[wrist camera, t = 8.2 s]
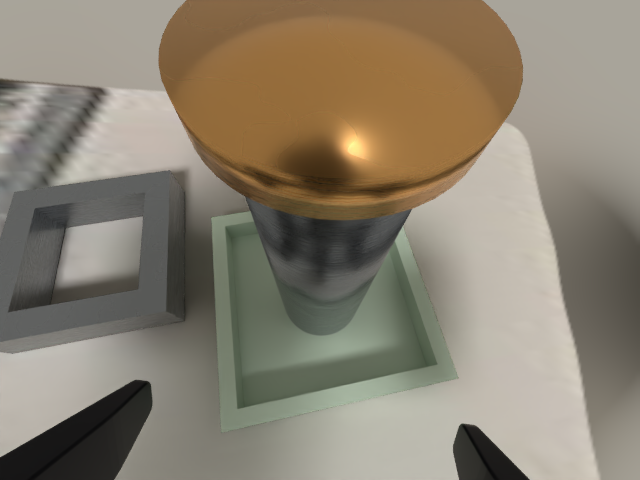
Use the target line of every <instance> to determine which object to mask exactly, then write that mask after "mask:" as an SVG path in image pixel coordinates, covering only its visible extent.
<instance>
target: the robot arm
mask: <svg viewBox="0 0 640 480" xmlns="http://www.w3.org/2000/svg"><path fill="white" fill-rule="evenodd" d="M151 409H152V392H151V384H150V382H148V381H142V380H134V381H132V382H130V383H129V384H127V385H125V386H123V387H122V388H120V389H118V390H116V391H115V392H113V393H111V394H110V395H108V396H106V397H104V398H103V399H101V400H99V401H97V402H96V403H94V404H92V405H90V406H89V407H87V408H85V409H83V410H82V411H80V412H78V413H77V414H75V415H73V416H71V417H70V418H68V419H66V420H64V421H63V422H61V423H59V424H57V425H56V426H54V427H52V428H50V429H49V430H47V431H45V432H44V433H42V434H40V435H38V436H37V437H35V438H33V439H31V440H30V441H28V442H26V443H24V444H23V445H21V446H19V447H17V448H16V449H14V450H12V451H11V452H9V453H7V454H5V455H4V456H2V457H0V480H114V479H115V477H116V476H117V474H118V472H119V471H120V469H121V467H122V465H123V464H124V462H125V460H126V458H127V456H128V454H129V452H130V450H131V448H132V446H133V444H134V443H135V441H136V439H137V437H138V435H139V433H140V431H141V429H142V427H143V425H144V423H145V421H146V419H147V417H148V415H149V413H150V411H151ZM453 453H454V458H455V463H456V467H457V472H458V477H459V480H530V479H529V478H528V477H527V476H526V475H525V474H524V473H523V472H522V471H521V470H520V469H519V468H518V467H517V466H516V465H515V464H514V463H513V462H512V461H511V460H510V459H509V458H508V457H507V456H506V455H505V454H504V453H503V452H502V451H501V450H500V449H499V448H498V447H497V446H496V445H495V444H494V443H493V442H492V441H491V440H490V439H489V438H488V437H487V436H486V435H485V434H484V433H483V432H482V431H481V430H480V429H479V428H478V427H477V426H475V425H470V424H461V425H460V426H459V428H458V431H457V435H456V438H455V441H454V445H453Z"/></svg>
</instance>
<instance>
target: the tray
mask: <svg viewBox="0 0 640 480" xmlns="http://www.w3.org/2000/svg"><path fill="white" fill-rule="evenodd" d="M211 224H212V246H213V268H214V290H215V312H216V335H217V357H218V379H219V401H220V423H221V433H223V432H227V431H232V430H236V429H240V428H245V427H249V426H253V425H258V424H262V423H266V422H271V421H275V420H279V419H284V418H288V417H292V416H297V415H301V414H305V413H310V412H314V411H319V410H323V409H327V408H332V407H336V406H340V405H345V404H349V403H353V402H358V401H362V400H366V399H371V398H375V397H379V396H384V395H388V394H392V393H397V392H401V391H405V390H410V389H414V388H419V387H423V386H427V385H432V384H436V383H440V382H445V381H449V380H453V379H458V375H457V372H456V370H455V367H454V364H453V361H452V359H451V356H450V353H449V350H448V348H447V345H446V342H445V340H444V337H443V334H442V331H441V329H440V326H439V323H438V320H437V318H436V315H435V312H434V310H433V307H432V304H431V301H430V299H429V296H428V293H427V291H426V288H425V285H424V282H423V280H422V277H421V274H420V271H419V269H418V266H417V263H416V261H415V258H414V255H413V252H412V250H411V247H410V244H409V241H408V239H407V236H406V233H405V231H404V228H403V227H402V228H401V230H400V232H399V234H398V236H397V238H396V240H395V241H394V243H393V245H392V247H391V249H390V251H389V252H388V254H387V256H386V258H385V260H384V262H383V264H382V265H381V267H380V269H379V271H378V273H377V275H376V276H375V278H374V280H373V282H372V284H371V286H370V288H369V289H368V291H367V293H366V295H365V297H364V299H363V300H362V302H361V304H360V306H359V308H358V310H357V311H356V313H355V315H354V317H353V319H352V320H351V321H350V323H349V324H348V325H347V326H346V327H345V328H343V329H342V330H340V331H338V332H336V333H334V334H330V335H324V336H318V335H312V334H309V333H306V332H304V331H302V330H301V329H299V328H298V327H297V326H295V325H294V324H293V322H292V321H291V320H290V318H289V317H288V315H287V313H286V310H285V307H284V304H283V302H282V299H281V296H280V293H279V290H278V287H277V285H276V282H275V279H274V276H273V273H272V271H271V268H270V265H269V262H268V259H267V257H266V254H265V251H264V248H263V245H262V242H261V240H260V237H259V234H258V231H257V228H256V226H255V223H254V220H253V217H252V214H251V211H248V212H242V213H235V214H229V215H222V216H216V217H211Z"/></svg>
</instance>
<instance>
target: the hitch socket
mask: <svg viewBox="0 0 640 480" xmlns="http://www.w3.org/2000/svg"><path fill="white" fill-rule="evenodd" d="M139 216H143V229H142V243H141V257H140V271H139V285H138V289H137V290H131V291H126V292H120V293H115V294H109V295H103V296H98V297H92V298H86V299H81V300H75V301H69V302H64V303H58V304H52V305H50V301H51V296H52V291H53V286H54V281H55V276H56V271H57V266H58V261H59V256H60V251H61V246H62V241H63V236H64V231H65V228H67V227H74V226H80V225H87V224H93V223H100V222H106V221H113V220H119V219H126V218H133V217H139ZM184 237H185V193H184V191H183V189H182V188H181V186H180V185H179V183H178V182H177V180H176V179H175V177H174V176H173V174H172V173H171V171H170V170H169V171H162V172H155V173H148V174H141V175H133V176H126V177H119V178H112V179H105V180H98V181H90V182H83V183H76V184H69V185H62V186H54V187H47V188H40V189H33V190H26V191H19V192H14V195H13V199H12V202H11V205H10V209H9V212H8V215H7V218H6V222H5V225H4V228H3V232H2V235H1V238H0V352H4V353H12V354H13V353H18V352H23V351H29V350H34V349H39V348H45V347H50V346H55V345H60V344H66V343H71V342H76V341H81V340H87V339H92V338H97V337H102V336H108V335H113V334H118V333H123V332H129V331H134V330H139V329H145V328H150V327H155V326H160V325H166V324H171V323H176V322H181V321H184Z"/></svg>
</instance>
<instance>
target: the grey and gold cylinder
mask: <svg viewBox="0 0 640 480" xmlns="http://www.w3.org/2000/svg"><path fill="white" fill-rule="evenodd" d="M159 69H160V74H161V79H162V82H163V84H164V86H165V89H166V91H167V94H168V96H169V98H170V100H171V102H172V104H173V106H174V108H175V110H176V112H177V114H178V116H179V118H180V120H181V122H182V124H183V126H184V128H185V130H186V132H187V134H188V136H189V138H190V140H191V142H192V144H193V146H194V148H195V150H196V151H197V153H198V154H199V156H200V157H201V159H202V160H203V162H204V163H205V164H206V165H207V166H208V167H209V169H210V170H211V171H212V172H213V173H214V174H215V175H216V176H217V177H218V178H220V179H221V180H222V181H223V182H225V183H226V184H227V185H229V186H230V187H231V188H232V189H234V190H236V191H237V192H239V193H241V194H243V195H244V196H245V197H246V200H247V203H248V206H249V209H250V211H251V214H252V217H253V220H254V223H255V226H256V228H257V231H258V234H259V237H260V240H261V242H262V245H263V248H264V251H265V254H266V257H267V259H268V262H269V265H270V268H271V271H272V273H273V276H274V279H275V282H276V285H277V287H278V290H279V293H280V296H281V299H282V302H283V304H284V307H285V310H286V313H287V315H288V317H289V318H290V320H291V321H292V322H293V324H294V325H295V326H297V327H298V328H299V329H301V330H302V331H304V332H306V333H309V334H312V335H318V336H324V335H330V334H334V333H336V332H338V331H340V330H342V329H343V328H345V327H346V326H347V325H348V324H349V323H350V321H351V320H352V319H353V317H354V315H355V313H356V311H357V310H358V308H359V306H360V304H361V302H362V300H363V299H364V297H365V295H366V293H367V291H368V289H369V288H370V286H371V284H372V282H373V280H374V278H375V276H376V275H377V273H378V271H379V269H380V267H381V265H382V264H383V262H384V260H385V258H386V256H387V254H388V252H389V251H390V249H391V247H392V245H393V243H394V241H395V240H396V238H397V236H398V234H399V232H400V230H401V228H402V227H403V225H404V223H405V221H406V219H407V217H408V216H409V214H410V212H411V210H412V208H415V207H418V206H420V205H422V204H424V203H426V202H428V201H431V200H433V199H435V198H436V197H438V196H439V195H441V194H442V193H444V192H445V191H447V190H449V189H450V188H451V187H453V186H454V185H455V184H456V183H457V182H458V181H459V180H460V179H461V178H463V177H464V176H465V175H466V173H467V172H468V171H469V170H470V168H471V167H472V166H473V165H474V163H475V162H476V161H477V159H478V158H479V156H480V155H481V154H482V152H483V151H484V149H485V148H486V146H487V145H488V144H489V142H490V141H491V139H492V138H493V137H494V135H495V134H496V132H497V131H498V130H499V128H500V127H501V125H502V124H503V122H504V121H505V120H506V118H507V117H508V115H509V114H510V113H511V111H512V109H513V107H514V104H515V103H516V101H517V99H518V97H519V93H520V89H521V85H522V81H523V78H522V77H523V65H522V59H521V55H520V51H519V48H518V46H517V43H516V41H515V38H514V36H513V35H512V33H511V32H510V30H509V29H508V27H507V25H506V24H505V23H504V22H503V20H502V19H501V18H500V17H499V16H498V15H497V13H496V12H495V11H493V10H492V9H491V8H490V7H489V6H488V5H487V4H486V3H485V2H484V1H482V0H186V1H185V3H184V4H183V5H182V6H181V7H180V8H179V9H178V10H177V11H176V12H175V14H174V15H173V17H172V18H171V19H170V21H169V23H168V25H167V27H166V29H165V31H164V33H163V35H162V39H161V44H160V48H159Z"/></svg>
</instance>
